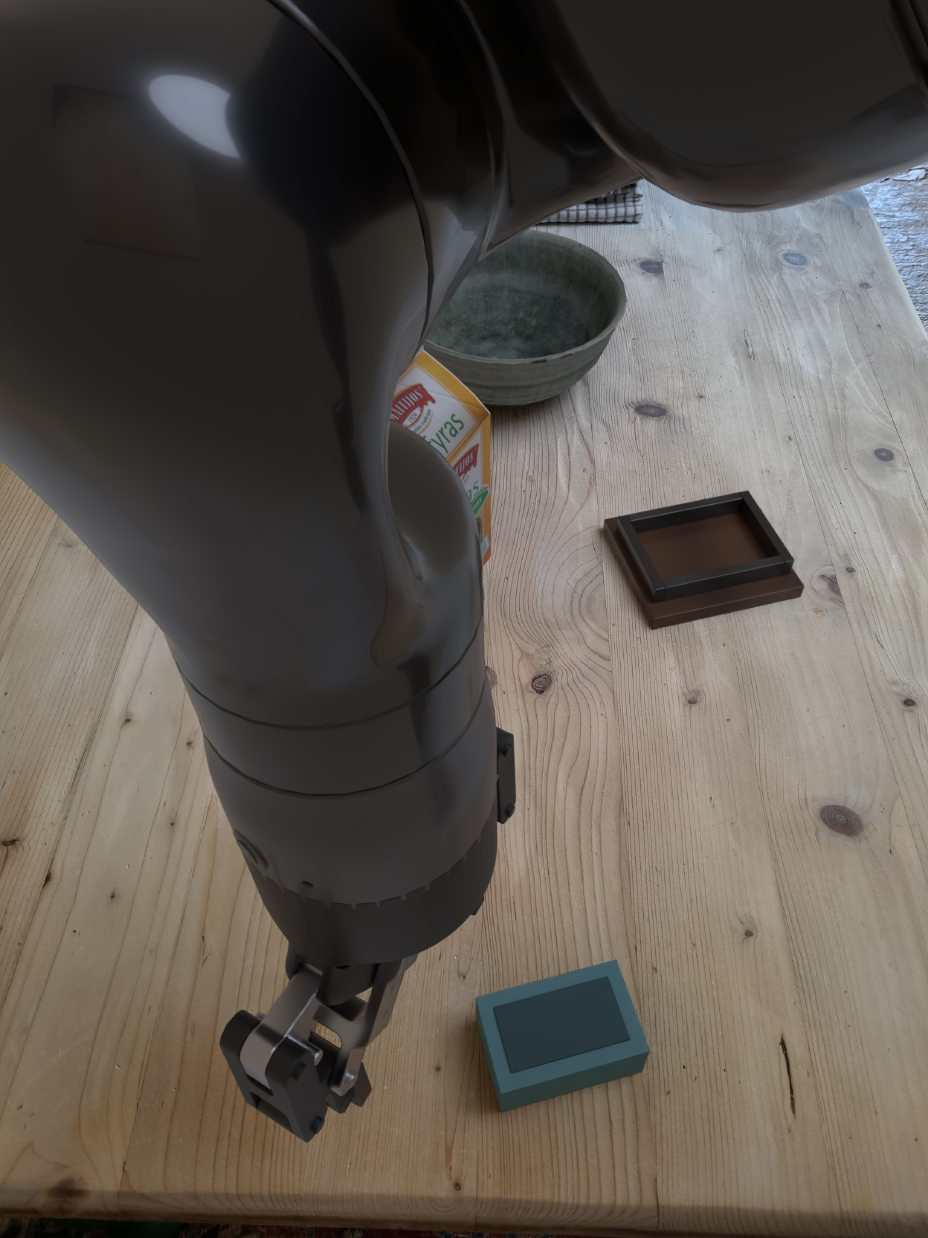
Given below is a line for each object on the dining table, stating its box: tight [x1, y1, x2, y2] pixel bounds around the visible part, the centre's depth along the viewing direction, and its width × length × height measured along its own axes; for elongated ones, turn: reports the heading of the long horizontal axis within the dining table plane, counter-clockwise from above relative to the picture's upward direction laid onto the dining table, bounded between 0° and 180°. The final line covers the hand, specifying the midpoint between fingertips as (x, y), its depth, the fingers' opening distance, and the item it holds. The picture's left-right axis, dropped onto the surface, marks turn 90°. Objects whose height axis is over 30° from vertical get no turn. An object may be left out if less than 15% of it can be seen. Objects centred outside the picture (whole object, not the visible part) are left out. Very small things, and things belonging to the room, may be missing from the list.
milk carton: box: [390, 345, 492, 567], centre depth 71 cm, size 11×11×19 cm
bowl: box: [423, 228, 628, 409], centre depth 90 cm, size 21×21×10 cm
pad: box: [474, 959, 651, 1113], centre depth 53 cm, size 8×5×4 cm, turn 104°
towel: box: [541, 180, 644, 223], centre depth 115 cm, size 15×18×8 cm
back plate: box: [602, 489, 805, 630], centre depth 77 cm, size 12×11×3 cm
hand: (404, 987), depth 40 cm, fingers open, 8 cm apart
